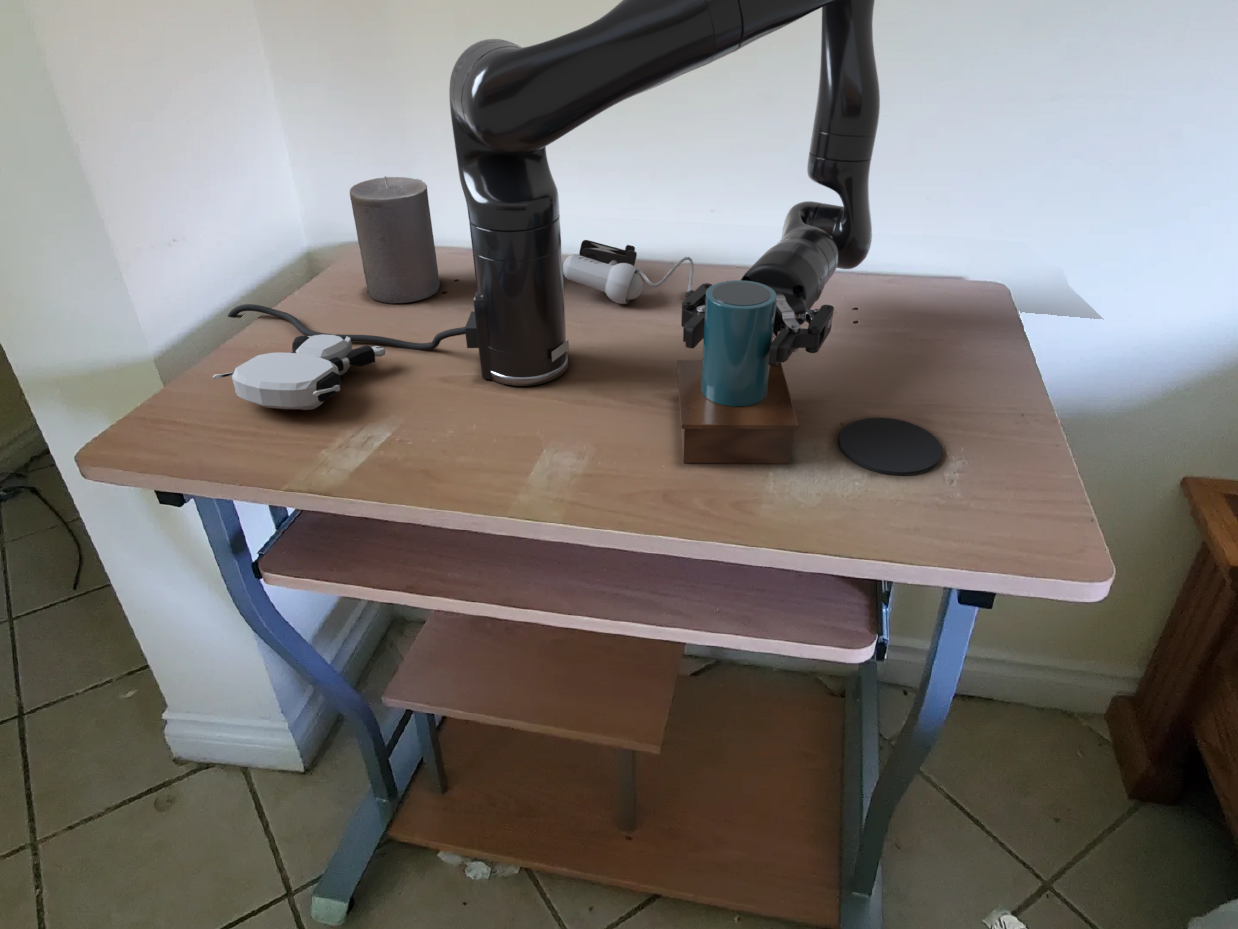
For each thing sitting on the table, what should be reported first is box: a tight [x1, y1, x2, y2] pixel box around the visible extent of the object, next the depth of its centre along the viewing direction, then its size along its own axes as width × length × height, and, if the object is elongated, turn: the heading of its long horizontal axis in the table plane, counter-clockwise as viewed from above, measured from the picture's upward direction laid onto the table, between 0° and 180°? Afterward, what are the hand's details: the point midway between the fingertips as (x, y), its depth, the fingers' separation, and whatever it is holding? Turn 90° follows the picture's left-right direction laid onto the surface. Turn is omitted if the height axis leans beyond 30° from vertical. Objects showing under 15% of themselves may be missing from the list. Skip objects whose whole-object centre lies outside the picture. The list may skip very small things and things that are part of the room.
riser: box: [676, 359, 799, 465], centre depth 84 cm, size 11×13×4 cm
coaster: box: [838, 417, 943, 476], centre depth 83 cm, size 10×10×1 cm
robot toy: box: [212, 334, 386, 411], centre depth 92 cm, size 12×4×15 cm
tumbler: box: [701, 279, 777, 407], centre depth 80 cm, size 6×6×10 cm
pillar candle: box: [349, 175, 441, 304], centre depth 111 cm, size 10×10×15 cm
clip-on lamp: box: [562, 239, 695, 305], centre depth 112 cm, size 12×6×18 cm
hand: (730, 347), depth 79 cm, fingers open, 7 cm apart
